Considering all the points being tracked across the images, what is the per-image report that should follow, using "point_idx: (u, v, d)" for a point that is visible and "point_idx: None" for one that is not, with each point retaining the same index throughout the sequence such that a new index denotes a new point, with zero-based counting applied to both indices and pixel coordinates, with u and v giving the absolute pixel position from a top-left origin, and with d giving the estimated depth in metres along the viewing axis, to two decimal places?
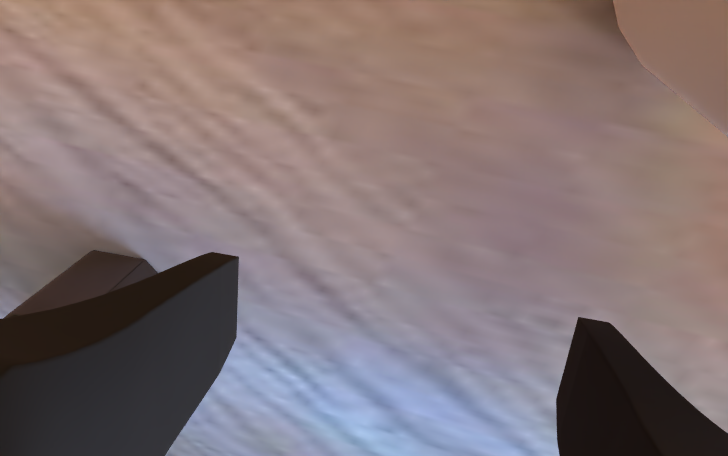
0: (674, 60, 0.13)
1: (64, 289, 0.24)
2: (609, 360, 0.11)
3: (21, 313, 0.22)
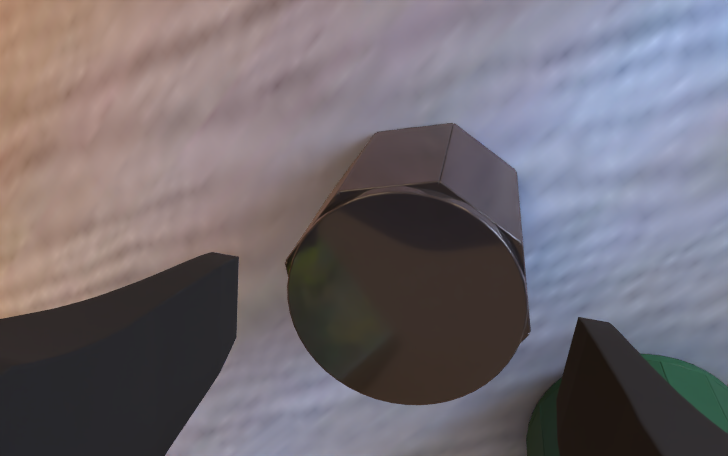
0: None
1: (321, 208, 0.17)
2: (609, 360, 0.11)
3: (293, 249, 0.16)
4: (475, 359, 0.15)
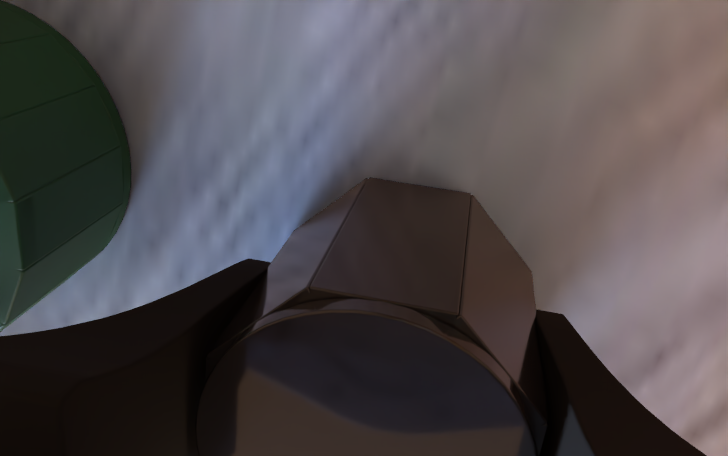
0: None
1: None
2: (554, 350, 0.11)
3: (544, 439, 0.10)
4: (231, 434, 0.11)
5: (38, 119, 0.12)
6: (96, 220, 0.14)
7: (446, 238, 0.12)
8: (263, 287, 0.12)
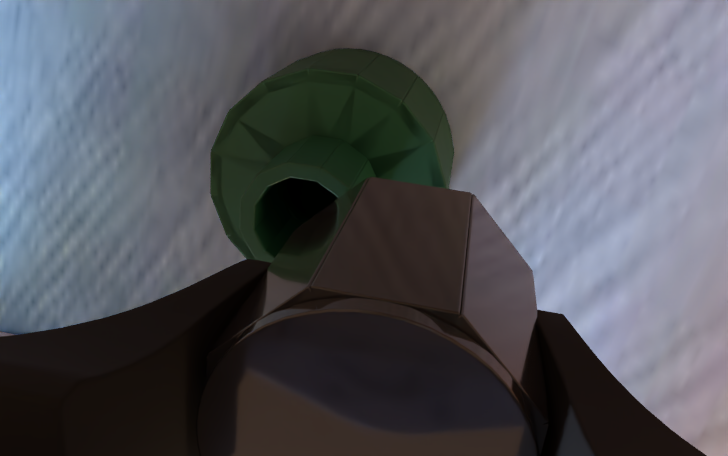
0: None
1: None
2: (554, 350, 0.11)
3: (545, 439, 0.10)
4: (232, 434, 0.11)
5: (440, 134, 0.19)
6: None
7: (447, 238, 0.12)
8: (264, 286, 0.12)
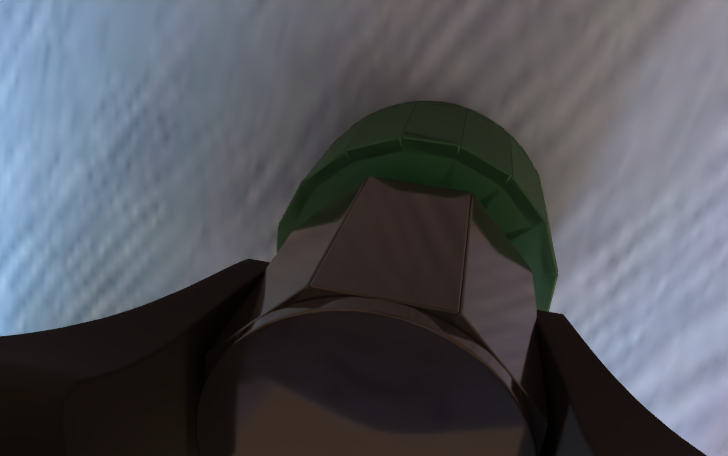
0: None
1: None
2: (554, 350, 0.11)
3: (544, 438, 0.10)
4: (231, 433, 0.11)
5: None
6: None
7: (447, 237, 0.12)
8: (263, 286, 0.12)
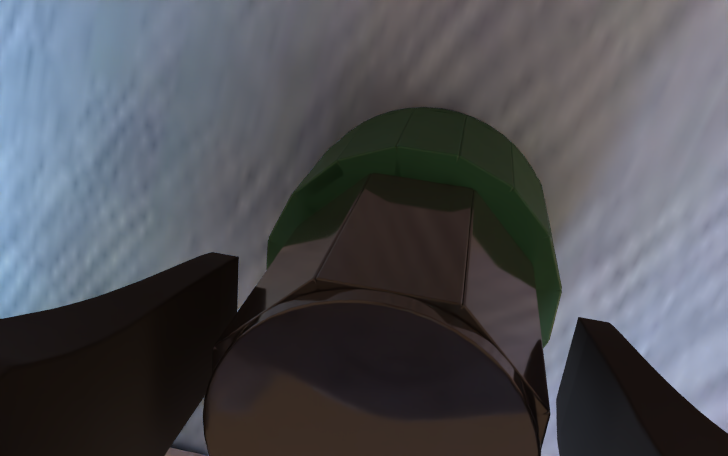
0: None
1: None
2: (609, 360, 0.11)
3: (545, 428, 0.10)
4: (238, 423, 0.11)
5: (547, 220, 0.16)
6: None
7: (450, 232, 0.12)
8: (269, 280, 0.12)
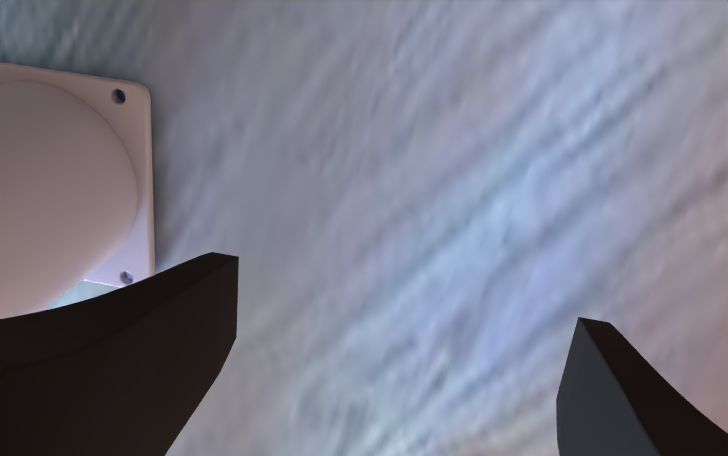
0: None
1: None
2: (609, 360, 0.11)
3: None
4: None
5: None
6: None
7: None
8: None
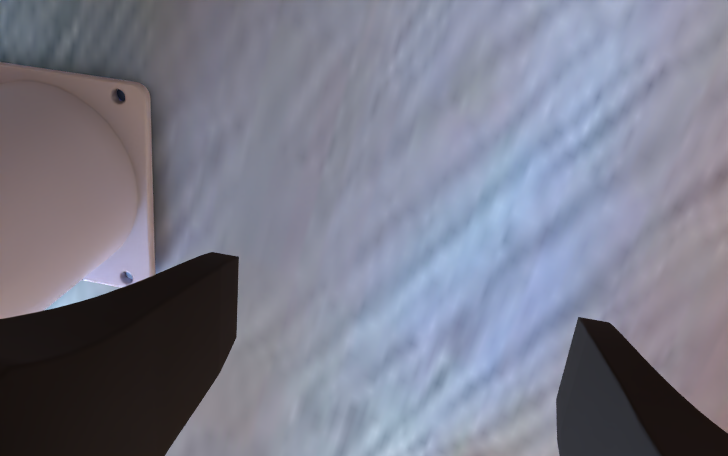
0: None
1: None
2: (609, 360, 0.11)
3: None
4: None
5: None
6: None
7: None
8: None
